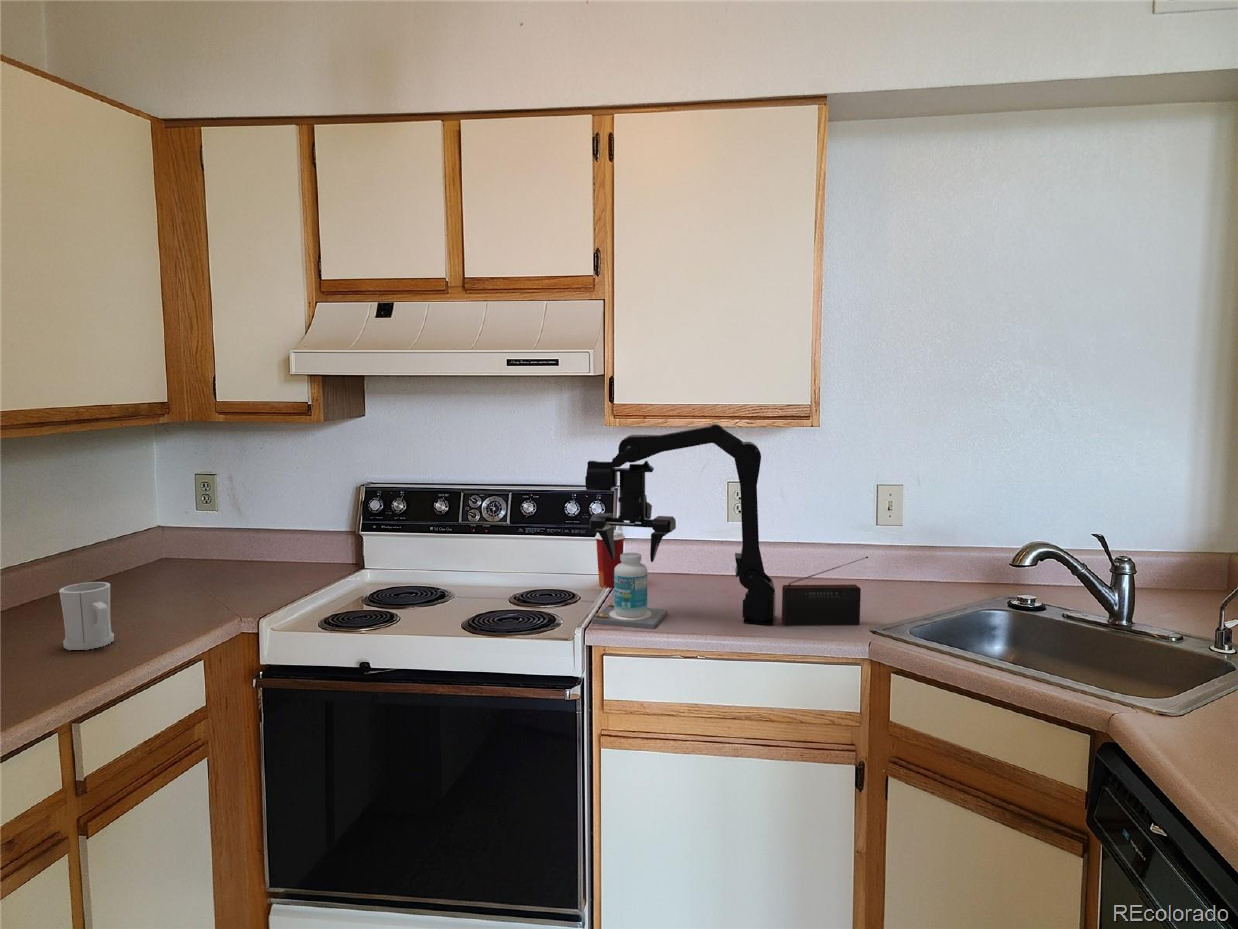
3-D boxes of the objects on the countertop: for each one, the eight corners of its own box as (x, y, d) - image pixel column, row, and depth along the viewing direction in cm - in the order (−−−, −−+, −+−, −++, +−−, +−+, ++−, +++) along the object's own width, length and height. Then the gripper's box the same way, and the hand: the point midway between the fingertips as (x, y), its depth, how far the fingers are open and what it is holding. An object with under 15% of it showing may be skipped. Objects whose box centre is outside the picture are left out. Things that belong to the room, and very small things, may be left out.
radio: (784, 626, 187) (786, 559, 185) (781, 622, 190) (783, 556, 188) (869, 626, 187) (871, 558, 185) (865, 622, 190) (867, 555, 188)
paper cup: (630, 584, 223) (630, 531, 222) (613, 590, 217) (613, 536, 216) (605, 580, 228) (605, 528, 226) (588, 586, 221) (588, 532, 220)
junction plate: (667, 613, 196) (667, 606, 196) (653, 628, 185) (653, 620, 185) (609, 608, 200) (609, 601, 200) (592, 623, 189) (592, 615, 189)
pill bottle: (607, 613, 193) (607, 554, 191) (632, 607, 198) (632, 549, 196) (629, 620, 187) (628, 559, 186) (654, 614, 192) (654, 554, 190)
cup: (131, 637, 179) (127, 581, 178) (106, 651, 170) (102, 592, 169) (80, 638, 179) (75, 581, 178) (52, 652, 170) (48, 593, 169)
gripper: (681, 488, 196) (681, 555, 197) (604, 485, 201) (604, 550, 203) (669, 495, 185) (669, 566, 187) (588, 491, 191) (588, 560, 192)
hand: (632, 560), depth 193 cm, fingers open, 9 cm apart
